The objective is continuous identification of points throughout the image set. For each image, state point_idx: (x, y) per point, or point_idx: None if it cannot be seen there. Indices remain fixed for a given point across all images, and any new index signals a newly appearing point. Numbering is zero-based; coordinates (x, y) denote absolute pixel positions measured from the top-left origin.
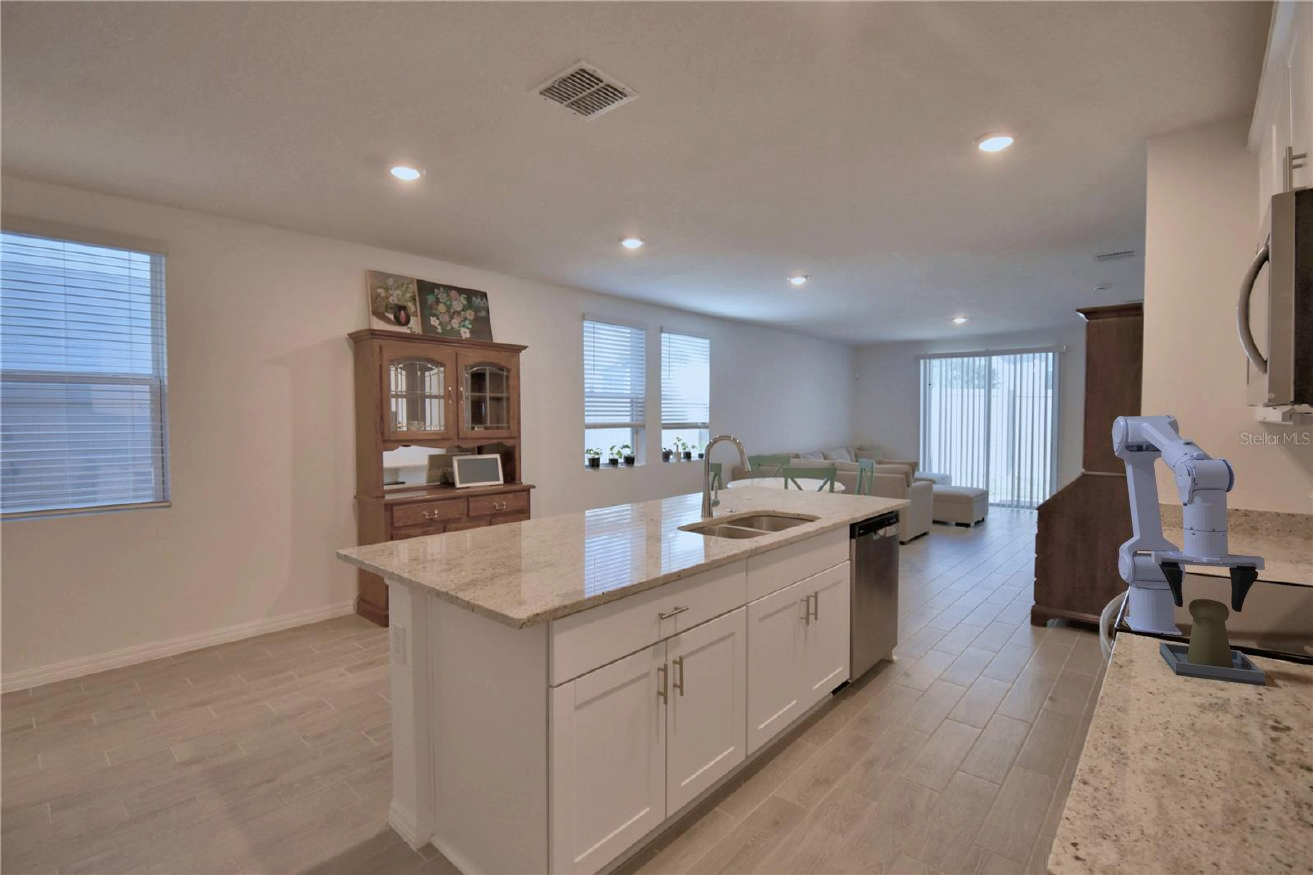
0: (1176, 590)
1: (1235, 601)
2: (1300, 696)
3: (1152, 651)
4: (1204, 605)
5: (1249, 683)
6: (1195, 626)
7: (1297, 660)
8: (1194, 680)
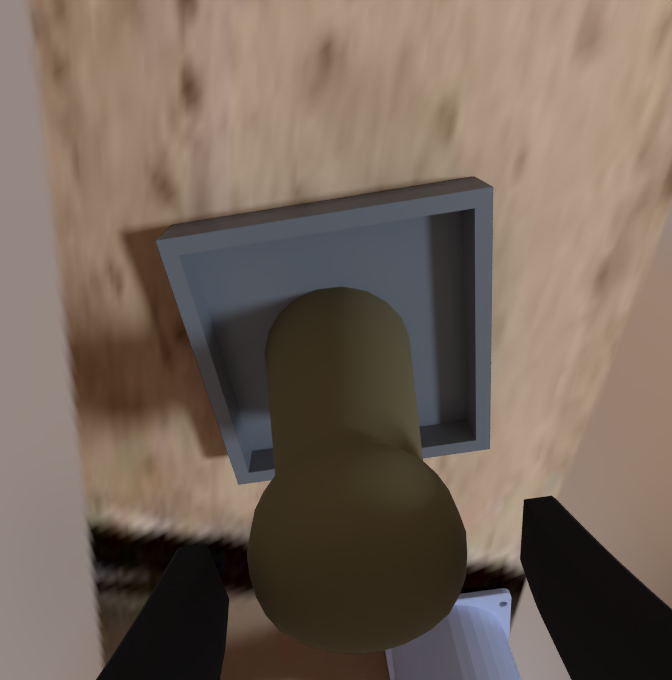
0: (659, 615)
1: (191, 628)
2: (55, 155)
3: (494, 430)
4: (399, 527)
5: (222, 217)
6: (414, 432)
7: (103, 547)
8: (414, 138)
